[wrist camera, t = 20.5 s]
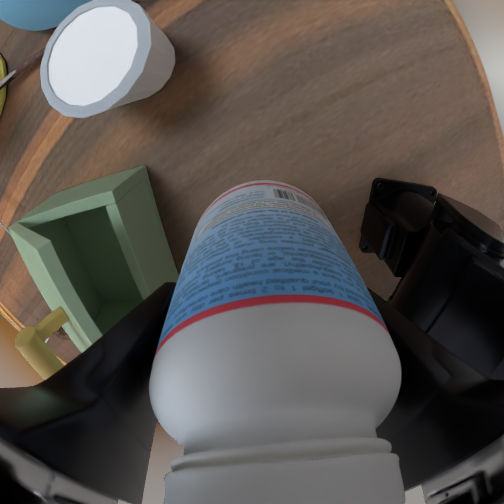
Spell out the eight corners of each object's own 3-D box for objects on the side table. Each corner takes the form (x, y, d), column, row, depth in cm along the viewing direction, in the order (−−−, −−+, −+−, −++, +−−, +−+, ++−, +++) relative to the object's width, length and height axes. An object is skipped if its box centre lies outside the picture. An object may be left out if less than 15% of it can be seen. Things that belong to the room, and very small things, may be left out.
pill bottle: (169, 231, 12) (68, 494, 3) (279, 148, 10) (437, 504, 1) (250, 310, 15) (252, 530, 5) (349, 251, 13) (449, 483, 3)
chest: (145, 164, 19) (111, 190, 14) (186, 297, 25) (175, 344, 20) (55, 192, 19) (15, 221, 14) (104, 303, 26) (83, 343, 21)
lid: (50, 239, 9) (-26, 298, 6) (155, 404, 15) (116, 446, 12) (16, 221, 14) (-27, 253, 11) (84, 344, 21) (53, 373, 18)
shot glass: (204, 62, 15) (180, 43, 9) (133, 127, 17) (82, 145, 11) (147, 7, 12) (103, -24, 6) (82, 72, 14) (22, 73, 8)
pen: (-10, 100, 12) (-16, 102, 12) (-11, 94, 12) (-17, 95, 11) (81, 34, 12) (76, 32, 12) (80, 26, 12) (75, 25, 11)
